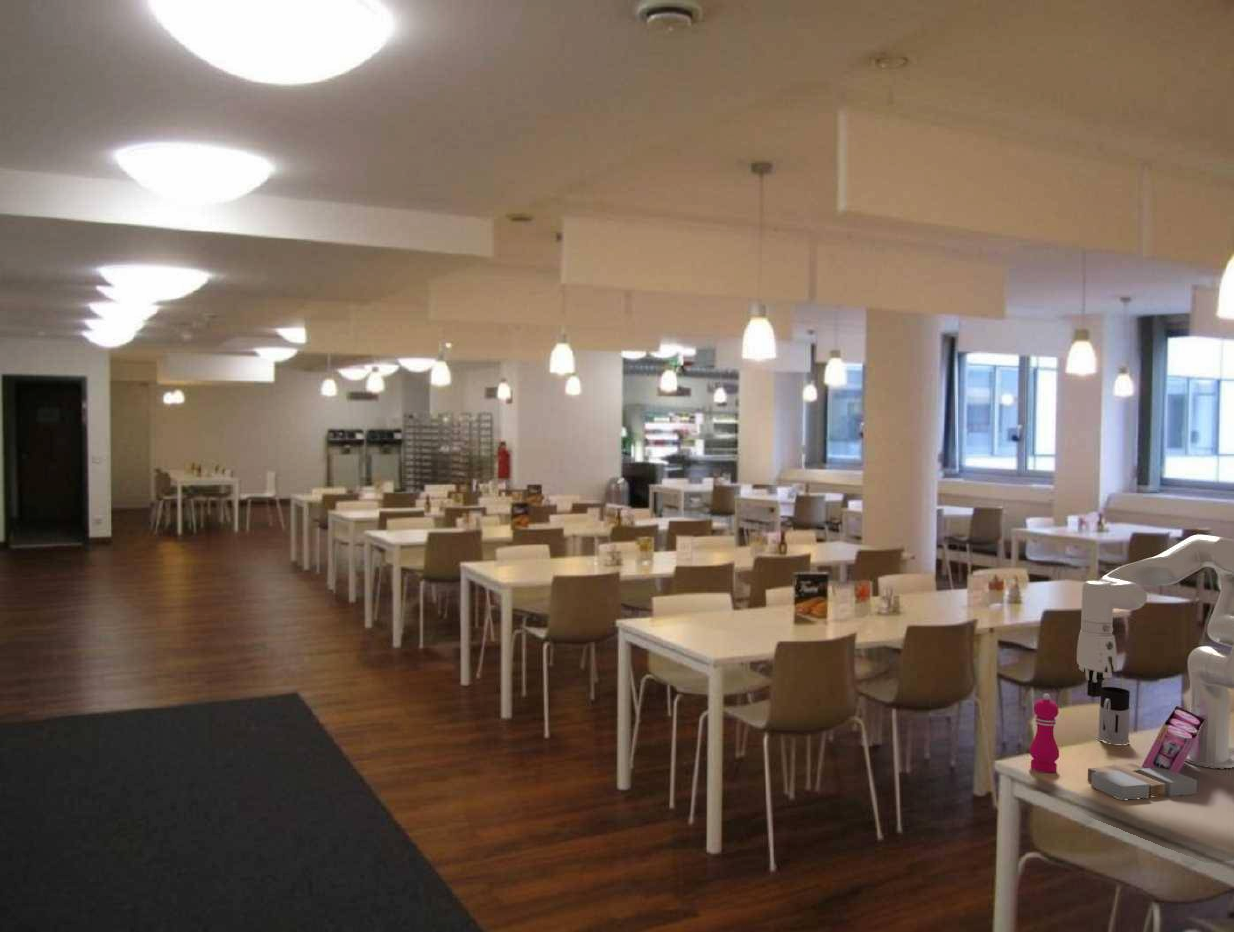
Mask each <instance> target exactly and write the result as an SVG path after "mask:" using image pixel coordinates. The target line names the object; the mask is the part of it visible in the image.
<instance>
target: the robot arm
mask: <svg viewBox="0 0 1234 932" xmlns="http://www.w3.org/2000/svg"><path fill="white" fill-rule="evenodd" d="M1203 568H1213V569H1214V571H1215V573H1216V575H1217V577H1218V580H1219V583H1220V592H1219V595H1218V599H1217V601H1216V604H1215V606H1214V608H1213V610H1212V614H1211V616H1210V618H1209V621H1208V623H1207V624H1208V625H1207V629H1206V633H1207V636H1208V638H1209V639H1211V640H1212V641H1213V642H1215V643H1217V644H1220V645H1224V646H1227V647H1230V648H1231V650H1230V651H1229V650H1226V649H1222V648H1219V647H1215V646H1210V645H1204V646H1198V647H1196V648H1194V649H1192V651H1190V653H1189V654H1188V658H1187V672H1188V676H1189V684H1190V693H1189V694H1190V699H1189V712H1191V713H1193V714H1195V715H1197V716H1199V717H1202V718H1203V719H1206V720H1205V722H1204V724H1203V726H1202V728H1201V730H1200V732H1199V734H1198V736H1197V738H1196V740H1195V742H1194V744H1193V746H1192V748H1191V750H1190V752H1189V754H1188V756H1187V758H1186V760H1185V762H1186V761H1187V763H1189V762H1190V763H1189V764H1191V763H1192V765H1194V764H1195V765H1194V766H1199V767H1202V766H1207V767H1212V768H1211V769H1215V768H1220V769H1219V770H1225V769H1224V768H1227V769H1226V770H1229V769H1228V768H1230V769H1233V768H1234V759H1232V757H1233V756H1234V747H1231V746H1230V726H1231V709H1232V699H1231V693H1230V691H1229V689H1230V690H1234V539H1231V538H1227V537H1223V536H1215V535H1209V534H1195V535H1190V536H1188V537H1187V538H1185V539H1184V540H1182V541H1180V542H1179V543H1176V544H1175V545H1172V546H1171V547H1170V548H1168V549H1166V550H1164V551H1162V552H1160V553H1159V554H1157V555H1155V556H1153V557H1152V556H1151V557H1148V558H1144V559H1141V560H1138V561H1135V562H1131V563H1127V564H1124V565H1122V566H1119V567H1117V568H1116V569H1113V570H1111V571H1110V572H1108V573H1107V574H1104V575H1103V576H1102V577H1100V578H1099V579H1098V580H1086V581H1085V582H1083V584H1082V589H1081V616H1080V617H1081V620H1080V631H1079V634H1078V638H1077V639H1078V640H1077V644H1076V645H1077V647H1076V663H1077V665H1078V669H1079V670H1080V671H1081V672H1083V673H1084V676H1085V680H1086V681H1087V688H1086V689H1087V692H1086V693H1087V694H1086V695H1087V696H1088V697H1091V698H1096V697H1097V698H1098V697H1099V698H1101V695H1102V687H1103V683H1104V682H1105V680H1106V679H1112V678H1113V673H1115V672H1117V669H1118V657H1117V656H1118V651H1117V643H1116V637H1115V635H1114V634H1113V632H1114V628H1113V621H1114V620H1113V619H1114V617H1113V616H1114V609H1116V610H1117V609H1118V610H1125V611H1135V610H1139V609H1141V608H1142V607H1143V606H1145V604H1146V602H1147V600H1148V594H1147V591H1146V589H1145V588H1147V587H1161V586H1162V587H1163V586H1171V585H1173V584H1176V583H1178V582H1181V581H1182V580H1184V579H1185V578H1187V577H1188V576H1191V575H1193V574H1194V573H1195V572H1198V571H1200V570H1201V569H1203ZM1207 767H1206V768H1207ZM1232 767H1233V768H1232Z"/></svg>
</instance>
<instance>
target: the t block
mask: <svg viewBox="0 0 1234 932" xmlns="http://www.w3.org/2000/svg"><path fill="white" fill-rule="evenodd" d="M1139 769H1146V768H1143V767H1142V765H1141V766H1140V765H1137V764H1135V763H1127V764H1115V765H1107V766H1098V767H1097V766H1096V767H1089V768H1087V781H1089V780H1090V781H1089V782H1091V778H1092V773H1095V772H1108V771H1120V772H1122V773H1124V774H1127V775H1129V776H1131V777H1134V778H1136V779H1138V780H1141V781H1143V782H1145V783H1147V784H1149V796H1161V797H1165V796H1166V795H1165V784H1164V783H1161V782H1159V781H1156V780H1154V779H1151V778H1149V777H1146V776H1144V775H1141V774H1139Z"/></svg>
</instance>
